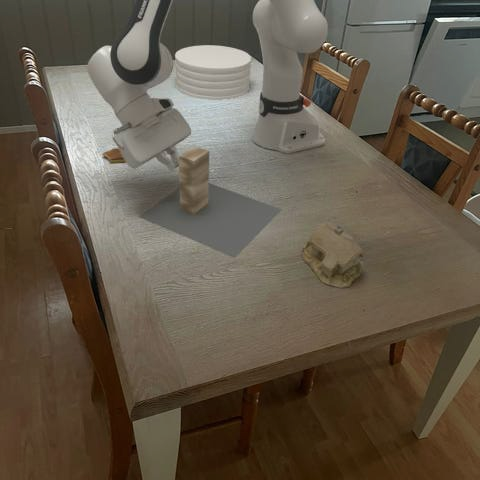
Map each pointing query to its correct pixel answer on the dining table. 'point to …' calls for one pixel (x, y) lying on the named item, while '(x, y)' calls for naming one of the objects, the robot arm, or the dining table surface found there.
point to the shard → (114, 156)
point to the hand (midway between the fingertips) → (176, 167)
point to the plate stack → (212, 72)
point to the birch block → (194, 179)
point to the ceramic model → (333, 255)
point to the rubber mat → (215, 219)
